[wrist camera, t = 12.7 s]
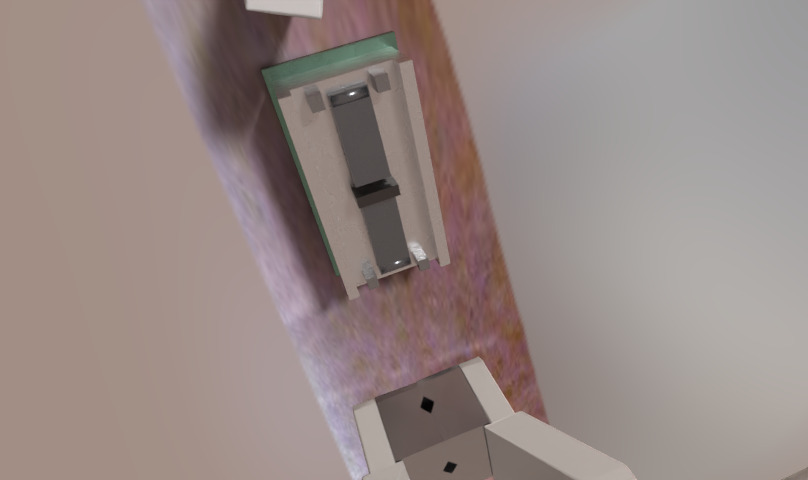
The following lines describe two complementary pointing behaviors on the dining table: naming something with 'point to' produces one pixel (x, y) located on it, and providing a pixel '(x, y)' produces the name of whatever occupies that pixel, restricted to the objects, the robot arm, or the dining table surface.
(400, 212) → the fuse holder
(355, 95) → the strap
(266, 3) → the skincare box
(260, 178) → the dining table surface
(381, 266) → the strap
